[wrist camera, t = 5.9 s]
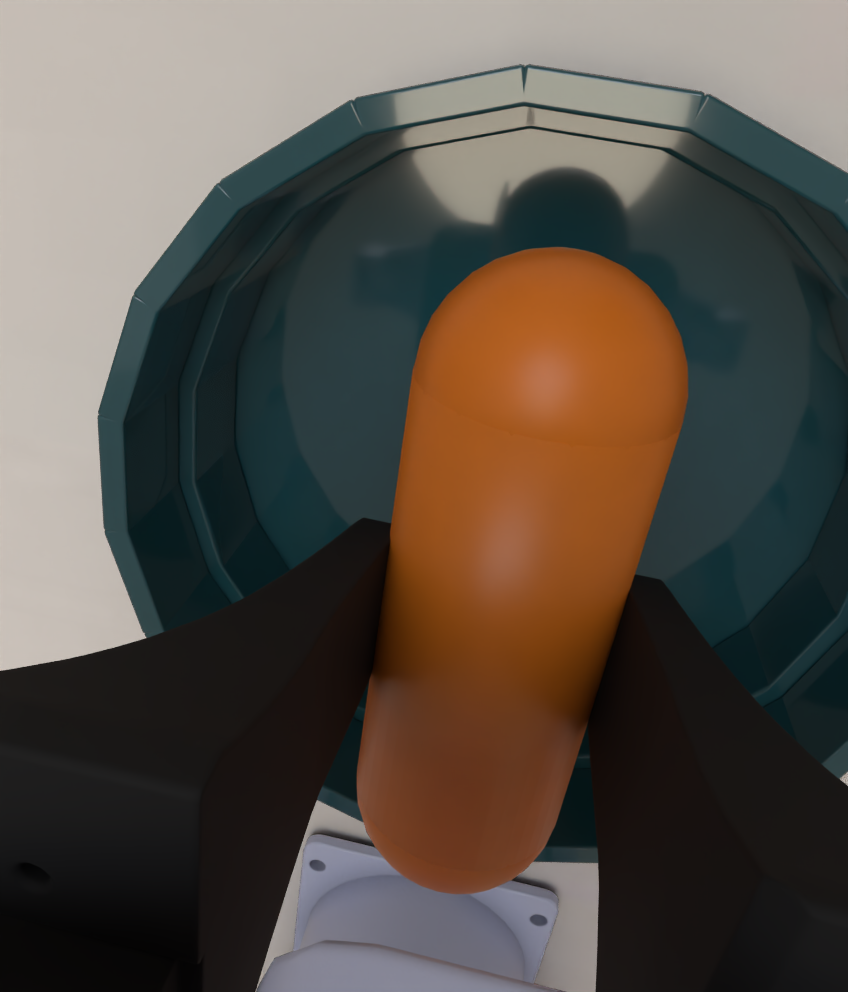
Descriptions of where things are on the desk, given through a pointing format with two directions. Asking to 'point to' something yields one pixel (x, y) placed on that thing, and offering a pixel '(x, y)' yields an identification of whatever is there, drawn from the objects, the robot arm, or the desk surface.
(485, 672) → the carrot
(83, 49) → the desk surface
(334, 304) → the teal shallow bowl
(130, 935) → the robot arm
